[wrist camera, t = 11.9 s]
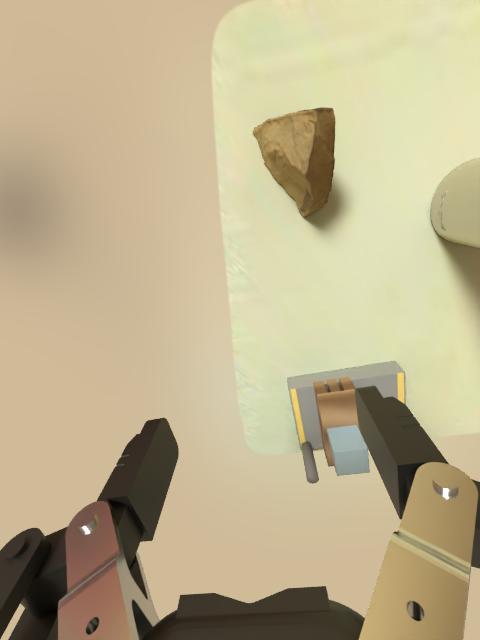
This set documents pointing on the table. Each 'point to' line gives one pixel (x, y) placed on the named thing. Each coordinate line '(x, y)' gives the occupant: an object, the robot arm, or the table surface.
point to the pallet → (335, 408)
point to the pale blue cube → (348, 450)
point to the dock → (303, 395)
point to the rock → (301, 154)
